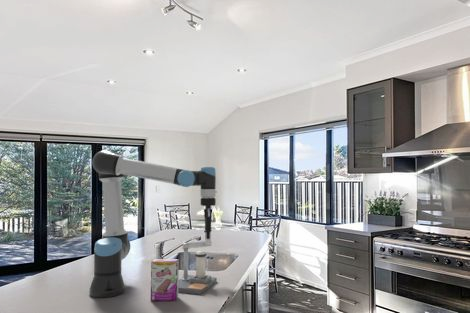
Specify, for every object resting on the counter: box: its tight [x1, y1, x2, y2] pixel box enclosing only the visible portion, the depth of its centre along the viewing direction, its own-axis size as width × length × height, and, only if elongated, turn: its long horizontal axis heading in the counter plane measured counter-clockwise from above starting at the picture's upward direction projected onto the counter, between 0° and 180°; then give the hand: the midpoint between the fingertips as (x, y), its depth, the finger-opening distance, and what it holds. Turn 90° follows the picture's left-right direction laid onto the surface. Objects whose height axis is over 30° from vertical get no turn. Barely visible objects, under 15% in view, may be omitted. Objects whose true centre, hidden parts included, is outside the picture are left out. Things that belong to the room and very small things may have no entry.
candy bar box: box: [150, 258, 180, 302], centre depth 151 cm, size 11×5×16 cm, turn 92°
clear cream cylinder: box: [194, 250, 207, 279], centre depth 169 cm, size 5×5×14 cm
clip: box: [182, 240, 212, 250], centre depth 175 cm, size 3×15×2 cm, turn 120°
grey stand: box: [178, 249, 218, 295], centre depth 168 cm, size 20×16×17 cm
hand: (207, 245), depth 176 cm, fingers closed
